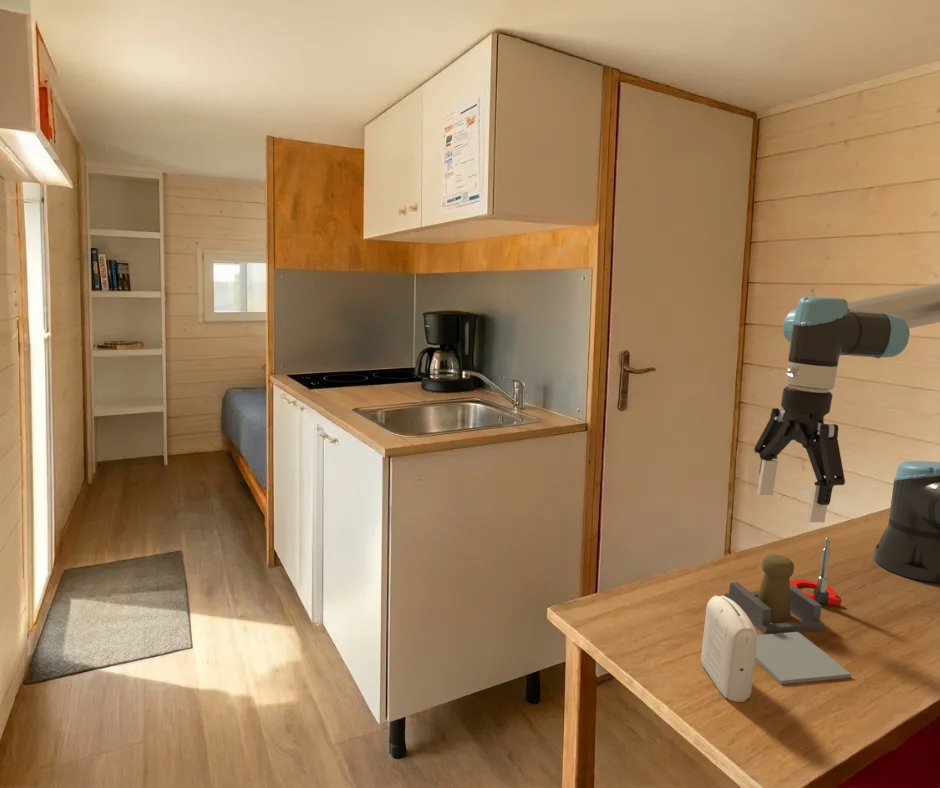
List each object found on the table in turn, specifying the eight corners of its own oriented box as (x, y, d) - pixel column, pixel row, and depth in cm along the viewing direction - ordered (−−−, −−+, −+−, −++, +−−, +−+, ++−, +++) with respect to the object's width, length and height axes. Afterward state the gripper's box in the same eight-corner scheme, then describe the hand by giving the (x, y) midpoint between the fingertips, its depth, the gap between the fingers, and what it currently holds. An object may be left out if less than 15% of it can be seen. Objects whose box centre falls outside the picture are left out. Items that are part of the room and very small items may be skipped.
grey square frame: (777, 595, 125) (780, 576, 124) (823, 630, 113) (826, 608, 112) (724, 599, 123) (726, 579, 122) (765, 634, 111) (767, 613, 110)
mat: (797, 634, 111) (798, 631, 111) (850, 677, 99) (851, 673, 99) (734, 640, 109) (734, 636, 109) (780, 684, 97) (780, 680, 97)
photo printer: (754, 703, 93) (764, 623, 90) (725, 703, 92) (734, 623, 90) (723, 660, 103) (731, 588, 101) (696, 661, 103) (704, 588, 100)
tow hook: (781, 583, 131) (797, 603, 122) (788, 521, 129) (805, 537, 120) (826, 587, 130) (845, 608, 121) (834, 525, 128) (854, 541, 119)
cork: (777, 626, 114) (784, 567, 112) (746, 610, 119) (753, 554, 117) (797, 617, 117) (805, 560, 115) (766, 602, 122) (773, 547, 120)
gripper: (745, 376, 122) (729, 484, 126) (843, 401, 98) (819, 535, 102) (780, 377, 123) (763, 484, 127) (885, 403, 99) (861, 534, 103)
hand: (788, 507), depth 114 cm, fingers open, 13 cm apart
